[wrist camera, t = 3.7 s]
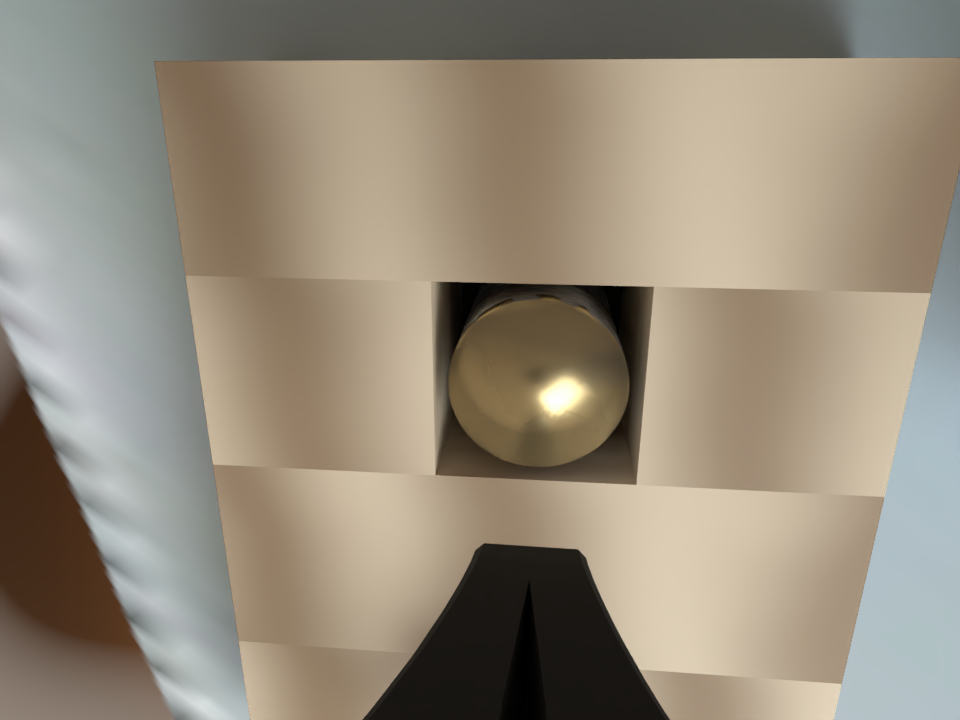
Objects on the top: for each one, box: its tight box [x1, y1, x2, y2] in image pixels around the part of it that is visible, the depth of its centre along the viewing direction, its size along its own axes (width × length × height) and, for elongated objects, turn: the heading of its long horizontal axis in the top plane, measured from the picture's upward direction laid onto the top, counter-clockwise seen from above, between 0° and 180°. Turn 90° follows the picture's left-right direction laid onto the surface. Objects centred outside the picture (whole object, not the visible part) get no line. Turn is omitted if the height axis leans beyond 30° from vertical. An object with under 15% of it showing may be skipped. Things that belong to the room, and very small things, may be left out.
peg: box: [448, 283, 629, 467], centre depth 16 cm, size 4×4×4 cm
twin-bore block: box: [154, 58, 960, 720], centre depth 18 cm, size 14×21×5 cm, turn 0°
